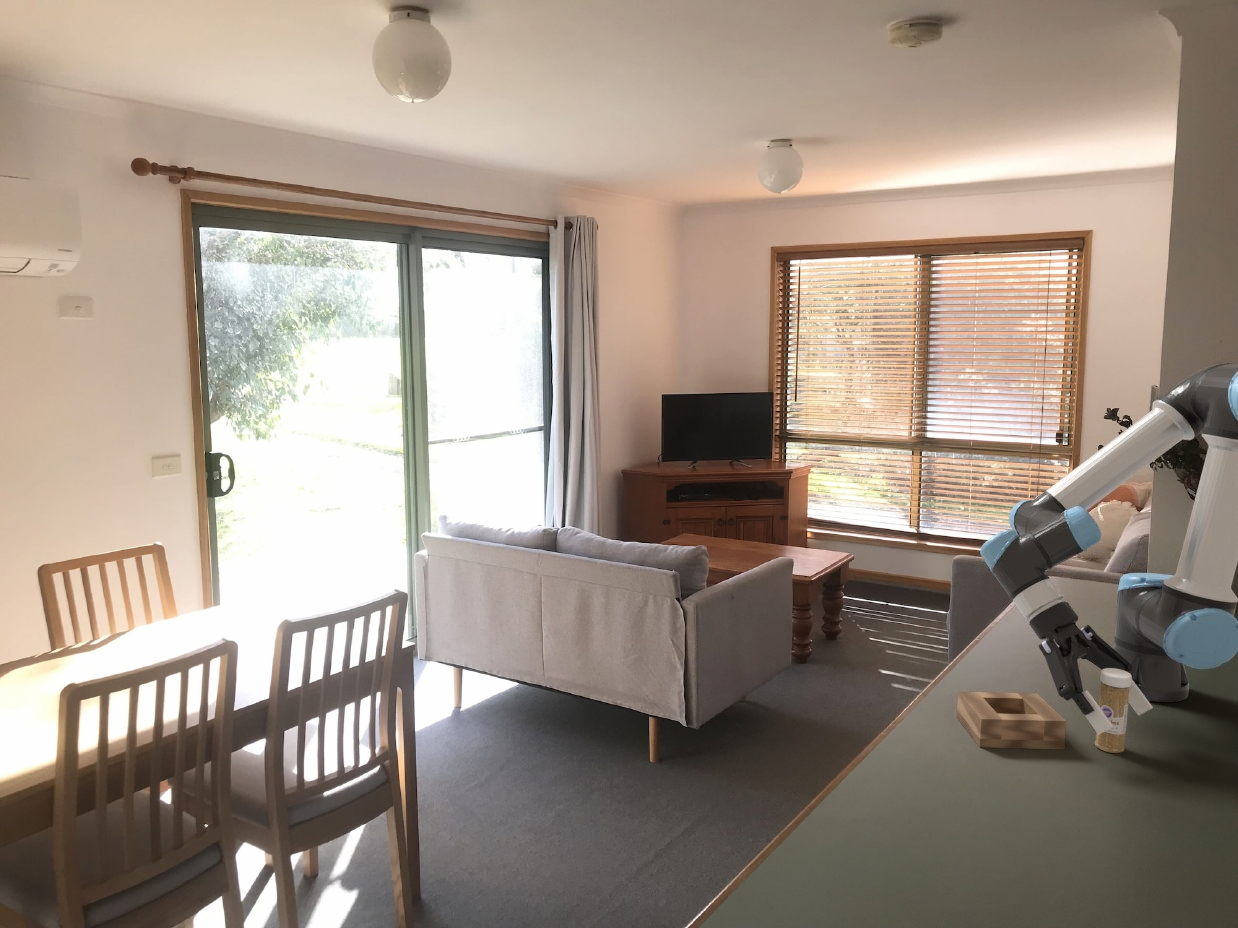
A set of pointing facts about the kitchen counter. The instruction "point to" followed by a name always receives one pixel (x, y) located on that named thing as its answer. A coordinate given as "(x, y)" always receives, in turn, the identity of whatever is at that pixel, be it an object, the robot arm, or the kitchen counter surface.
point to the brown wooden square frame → (1010, 720)
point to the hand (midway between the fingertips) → (1126, 721)
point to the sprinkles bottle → (1114, 708)
